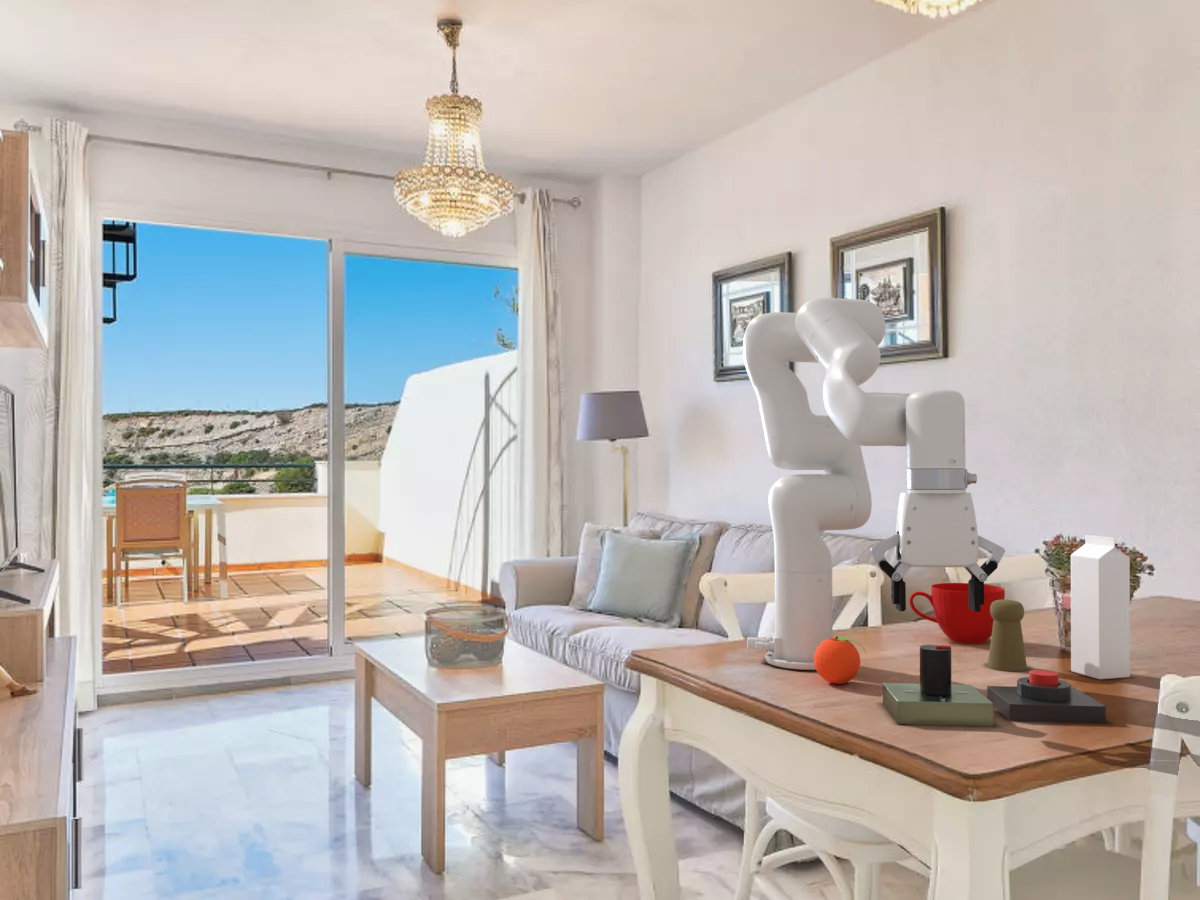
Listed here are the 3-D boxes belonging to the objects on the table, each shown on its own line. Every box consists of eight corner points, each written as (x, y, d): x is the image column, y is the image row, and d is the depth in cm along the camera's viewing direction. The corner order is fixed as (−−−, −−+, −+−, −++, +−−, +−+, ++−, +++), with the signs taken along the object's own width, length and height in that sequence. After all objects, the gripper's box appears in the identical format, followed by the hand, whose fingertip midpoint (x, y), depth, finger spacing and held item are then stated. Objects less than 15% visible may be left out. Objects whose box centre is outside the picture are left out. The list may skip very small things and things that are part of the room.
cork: (1031, 671, 153) (1031, 603, 153) (991, 670, 155) (991, 602, 155) (1022, 663, 159) (1022, 598, 159) (984, 662, 161) (983, 596, 161)
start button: (1034, 688, 128) (1034, 675, 128) (1025, 682, 131) (1025, 669, 131) (1062, 688, 128) (1062, 675, 128) (1052, 682, 131) (1052, 669, 131)
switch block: (1010, 720, 125) (1010, 690, 125) (986, 701, 135) (986, 673, 135) (1105, 723, 124) (1105, 692, 124) (1075, 703, 134) (1075, 674, 134)
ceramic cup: (908, 631, 189) (907, 581, 189) (1000, 635, 184) (999, 584, 184) (910, 644, 176) (910, 590, 176) (1009, 649, 172) (1009, 593, 172)
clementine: (859, 677, 149) (859, 632, 149) (873, 688, 142) (873, 641, 143) (808, 678, 149) (808, 632, 149) (820, 688, 142) (820, 641, 142)
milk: (1099, 680, 148) (1098, 538, 148) (1070, 671, 154) (1069, 534, 154) (1131, 677, 150) (1130, 536, 150) (1100, 668, 156) (1100, 533, 156)
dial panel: (897, 724, 124) (897, 699, 124) (882, 704, 134) (882, 681, 134) (993, 726, 122) (993, 702, 122) (971, 706, 132) (971, 683, 132)
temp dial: (923, 695, 126) (923, 647, 126) (916, 688, 130) (916, 642, 130) (955, 696, 126) (954, 648, 126) (947, 688, 130) (946, 642, 130)
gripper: (993, 481, 131) (995, 606, 131) (865, 482, 133) (866, 605, 132) (1011, 482, 124) (1013, 615, 123) (875, 483, 125) (876, 613, 125)
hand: (937, 610), depth 128 cm, fingers open, 9 cm apart
